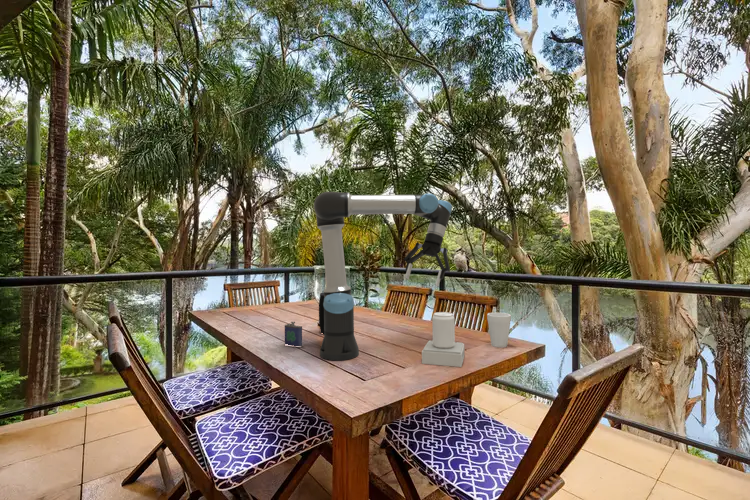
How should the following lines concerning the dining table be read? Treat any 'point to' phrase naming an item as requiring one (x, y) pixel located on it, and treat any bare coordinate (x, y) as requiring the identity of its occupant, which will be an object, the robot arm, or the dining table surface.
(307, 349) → the dining table surface
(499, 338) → the foam cup
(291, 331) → the flask
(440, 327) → the beverage can
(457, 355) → the pedestal
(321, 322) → the portable speaker
